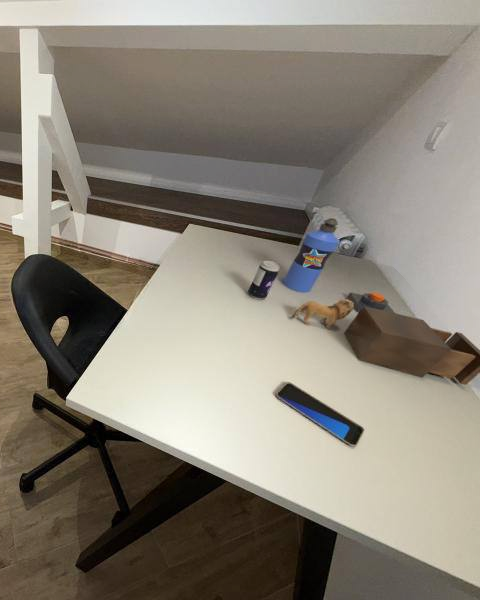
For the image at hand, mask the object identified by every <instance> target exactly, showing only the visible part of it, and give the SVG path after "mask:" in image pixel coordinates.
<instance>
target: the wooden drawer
mask: <svg viewBox="0 0 480 600" xmlns="http://www.w3.org/2000/svg"><path fill="white" fill-rule="evenodd" d="M431 329H432V330H433V331H434V332H435V333H436V334H437V335H438V336H439V337H440V338H441V339H442V340H443V341H444V342H445V343H446V344H447V345H448V346H449V347H450V348H451V350H450V351H449V352H448V353H447V354H446V355H445V356H444V357H443V358H442V359H441V360H440V361H439V362H438V363H437V364H436V365H435V366H434V367H433V368H432V369H431V370H430V371H429V372H428V373H431V374H434V375H438V376H441V377H445V378H448V379H454V378H455V379H456V381H457V382H458V383H459V384H460V385H465V386H467V385H468V384H469V383H470V382H472V380H474V378H476V377H477V376H478V375H479V374H480V349H479V348H478V347H477V346H476V345H475V344H474V343H473V342H472V341H471V340H470V339H469V338H467V336H465V335H464V334H463V333H462V332H458V331H455V332H454V333H452V332H450V331H445V330H442V329H437V328H433V327H431Z"/></svg>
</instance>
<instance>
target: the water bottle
mask: <svg viewBox="0 0 480 600" xmlns="http://www.w3.org/2000/svg"><path fill="white" fill-rule="evenodd" d="M323 222H324V223H321V225H320V226H319V229H318V230H313V231H307V233H306V235H305V237H304V238H303V240H302V244H301V247H300V249H299V252H298V254H297V255H296V257H294V259H293V261H292V262H291V264H290V265H289V266H290V267H289V268H288V270H287V272H286V275H285V276H284V278H283V280H282V284H283V285H284V286H285V287H286V288H288V289H290V290H293V291H296V292H300V293H309V292H311V291H312V289H313V287H314V286H315V284H316V282H317V280H318V279H319V277H320V275H321V273H322V272H323V271H324V267H325V265H326V262H327V261H328V259H329V257H330V256H331V255H332V253H333V252H334V251H335V250H336V249H337V247H338V246H339V244H340V242H341V241H340V238H338V237H337V236H335V235H334V233H335V232H336V230H337V229H338V227H337V226H338V225H339V223H338V221H337V219H336V218H332V217H330V218H327V219H325V220H323Z"/></svg>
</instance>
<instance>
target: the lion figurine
mask: <svg viewBox="0 0 480 600" xmlns="http://www.w3.org/2000/svg"><path fill="white" fill-rule="evenodd" d="M353 304H354V303H353V302H352V301H350V300H348V298H347V299H339V300H338V302H336V303H333V305H325V304H320V303H319V302H316V301H307V302H305V303H303V304H301V306H299V308H297V309H296V310H295V311H294V313H293V314H292V316H290V317H289V319H294V318H298V315H297V314H300V313H304V312H305V316H304V317H303V321H304V324H305V325H306V326H310V324H311V323H310V322H309V321H308V320H309V319H311V317H313V315H315V316H317V317H320V318H321V320H320V323H321V324H325V325H326V329H328V330H332V325H333V324H334V323H335V322H336V321H338V320H343V319H345V318H346V317H347V316H348V315H350V314H351V312H353V310H354V306H353ZM327 319H328V322H326V321H327ZM326 323H327V324H326Z"/></svg>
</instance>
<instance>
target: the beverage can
mask: <svg viewBox="0 0 480 600" xmlns="http://www.w3.org/2000/svg"><path fill="white" fill-rule="evenodd" d="M280 267H281V266H280V265H279V263H277V262H276V261H271V260H263V261H262V263H260V264H259V266H258V268H257V270H256V272H255V275H254V277H253V279H252V281H251V284H250V286H249V287H248V290H247V291H248V292H247V293H248V294H249V296H250V297H251V298H253V299H256V300H262V299H266V298H267V297H268V295H269V292H270V290H271V288H272V287H273V284H274V282H275V280H276V278H277V276H278V275H279V272H280Z"/></svg>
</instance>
